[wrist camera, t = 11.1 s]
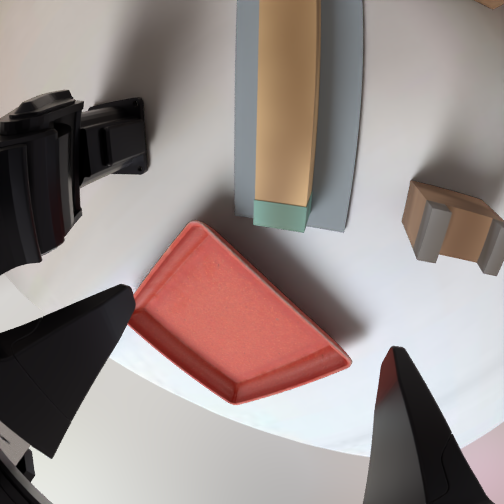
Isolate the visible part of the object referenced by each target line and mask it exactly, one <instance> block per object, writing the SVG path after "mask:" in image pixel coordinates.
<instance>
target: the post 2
mask: <svg viewBox="0 0 504 504" xmlns="http://www.w3.org/2000/svg"><path fill="white" fill-rule="evenodd" d="M474 1H477V2H479V3H481V4H483V5H485V6H487V7H489V8H491V9H495V8H497V7H499V6H501V5H503V4H504V0H474Z"/></svg>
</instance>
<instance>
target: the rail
mask: <svg viewBox="0 0 504 504" xmlns="http://www.w3.org/2000/svg"><path fill="white" fill-rule="evenodd" d="M320 56H321V0H259V45H258V91H257V135H256V178H255V199H254V217H253V225H258V226H264V227H271V228H277V229H283V230H289V231H296V232H302V233H304V231H305V228H306V225H307V222H308V219H309V216H310V211H311V202H312V192H313V191H312V184H313V174H314V162H315V150H316V137H317V123H318V106H319V86H320Z"/></svg>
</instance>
